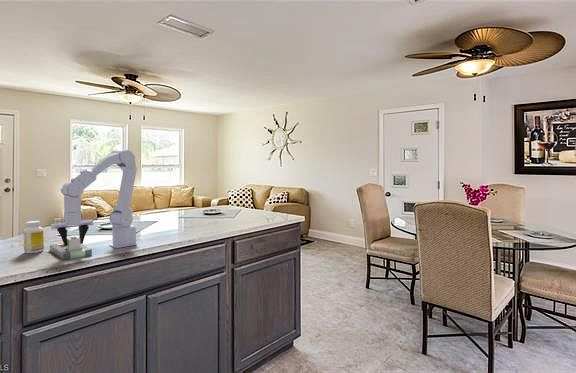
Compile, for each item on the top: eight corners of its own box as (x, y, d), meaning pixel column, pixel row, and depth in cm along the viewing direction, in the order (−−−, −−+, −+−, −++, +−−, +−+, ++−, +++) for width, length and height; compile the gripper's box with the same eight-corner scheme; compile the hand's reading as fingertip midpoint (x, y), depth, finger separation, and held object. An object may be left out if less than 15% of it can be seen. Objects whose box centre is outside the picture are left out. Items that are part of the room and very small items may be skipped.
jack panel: (76, 246, 150) (76, 241, 149) (91, 255, 136) (91, 249, 136) (49, 250, 142) (49, 244, 142) (63, 260, 129) (63, 253, 129)
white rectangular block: (77, 253, 139) (77, 235, 139) (80, 255, 137) (80, 236, 136) (66, 254, 136) (66, 236, 136) (69, 256, 134) (68, 238, 133)
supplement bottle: (47, 249, 144) (46, 220, 143) (36, 253, 137) (35, 223, 136) (31, 249, 143) (30, 220, 143) (20, 253, 137) (19, 223, 136)
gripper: (89, 209, 143) (89, 240, 144) (48, 212, 132) (49, 245, 133) (94, 210, 138) (95, 242, 139) (53, 214, 128) (54, 248, 129)
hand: (73, 244), depth 136 cm, fingers open, 5 cm apart
